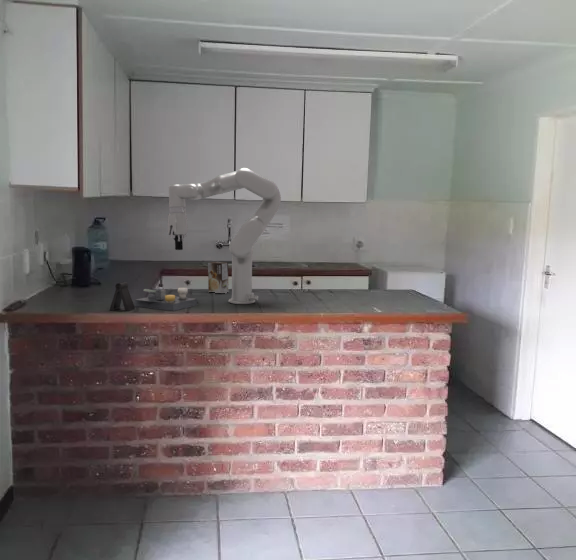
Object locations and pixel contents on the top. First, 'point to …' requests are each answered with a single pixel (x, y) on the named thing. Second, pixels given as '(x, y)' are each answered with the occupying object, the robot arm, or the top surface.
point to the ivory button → (182, 293)
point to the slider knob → (160, 293)
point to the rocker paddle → (150, 291)
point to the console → (165, 303)
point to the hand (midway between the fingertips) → (179, 249)
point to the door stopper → (122, 298)
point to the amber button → (169, 298)
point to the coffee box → (218, 277)
